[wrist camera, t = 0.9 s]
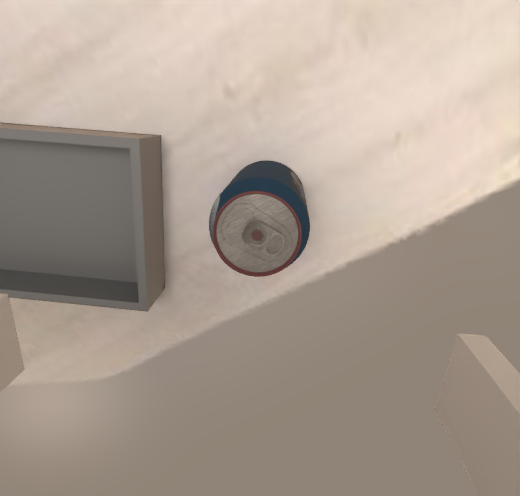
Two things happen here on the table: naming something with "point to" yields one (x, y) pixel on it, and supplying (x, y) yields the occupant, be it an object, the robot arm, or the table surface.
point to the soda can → (260, 220)
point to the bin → (81, 216)
